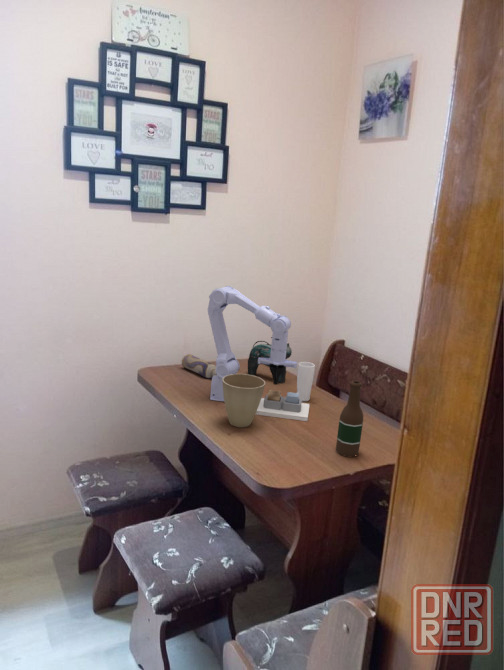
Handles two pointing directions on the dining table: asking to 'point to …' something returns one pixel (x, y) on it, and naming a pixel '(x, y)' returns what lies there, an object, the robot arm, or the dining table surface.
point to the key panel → (283, 409)
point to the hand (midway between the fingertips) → (275, 383)
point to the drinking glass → (305, 379)
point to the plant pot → (242, 397)
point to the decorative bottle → (199, 366)
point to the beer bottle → (350, 423)
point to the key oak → (274, 395)
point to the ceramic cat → (264, 352)
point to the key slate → (292, 397)
